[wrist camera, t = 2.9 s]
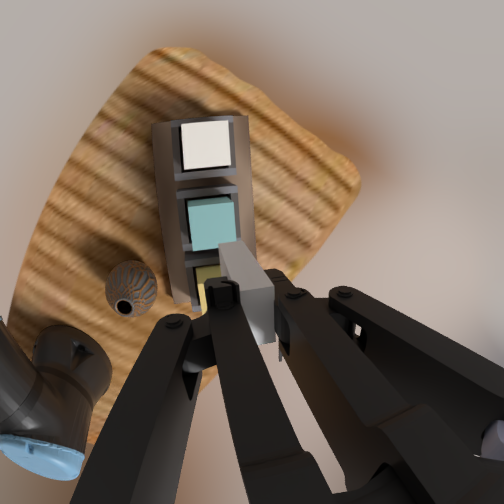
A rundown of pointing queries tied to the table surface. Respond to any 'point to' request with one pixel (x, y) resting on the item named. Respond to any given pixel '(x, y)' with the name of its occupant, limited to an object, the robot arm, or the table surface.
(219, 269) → the plunger ochre
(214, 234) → the plunger teal
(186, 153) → the plunger cream
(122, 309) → the vase
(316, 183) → the table surface
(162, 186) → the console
